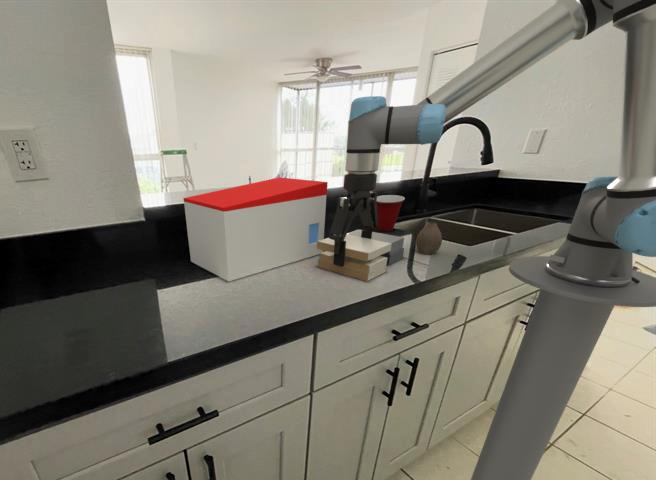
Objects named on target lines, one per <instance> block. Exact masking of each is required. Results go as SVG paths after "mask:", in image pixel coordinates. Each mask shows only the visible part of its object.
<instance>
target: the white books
mask: <svg viewBox="0 0 656 480" xmlns="http://www.w3.org/2000/svg"><path fill="white" fill-rule="evenodd" d="M333 261H334V253H332V252H328V251H323V252H322V253H320V254H319V258H318V261H317V262H318V263H317V267H318V268H321V269H324V270H328V271H330V272H334V273H338V274H341V275H344V276H348V277H351V278H354V279H357V280H361V281H364V282H368V281H370V280H372V279H375V278H376V277H378V276H381V275H382V274H384V273H385V272H386V269H387V266H388V265H387V257H382V256H378V257H375V258H373V259H371V260H369V261H363V260H359V259H355V258H351V257H348V256H345V259H344V266H343V267H341V266H337V265H334V264H333Z"/></svg>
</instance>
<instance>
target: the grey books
mask: <svg viewBox="0 0 656 480" xmlns="http://www.w3.org/2000/svg"><path fill="white" fill-rule="evenodd" d="M363 230H364V229H355V230H353V231H350V232H347V234H348V235H353V236H358V237H361V233H362V231H363ZM371 239H373V240H378V241H383V242H387V243H392V244H391V251H389V252H387V253H384V254H382V255H380V256H382V257H387V265H386V266H390V265H392V264H395V263H396V262H398V261H400V260H403V258H404V254H405V253H404V252H405V248H404V242H405V237H404V236H398V235H393V234H387V233H382V232H377V231H376V232H374V231H372V238H371Z"/></svg>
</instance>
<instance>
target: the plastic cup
mask: <svg viewBox="0 0 656 480" xmlns="http://www.w3.org/2000/svg"><path fill="white" fill-rule="evenodd" d="M405 199H406V198H405V197H404V196H402V195H396V194H386V195H384V194H383V195H377V215H378V227H377V230H376V231H380V232H392V231H393V230H394V228H395V225H396V222H397V220H398V216H399V213H400V211H401V208H402V205H403V202H404V201H405Z"/></svg>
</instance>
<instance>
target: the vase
mask: <svg viewBox="0 0 656 480" xmlns="http://www.w3.org/2000/svg"><path fill="white" fill-rule="evenodd" d="M442 243H443V234H442V233H441V230H440V229H439V227H438V224H437V223H436V222H427V223H426V225H425V226H424V227H423V228H422V229H421V230H420V231H419V232H418V233H417V235H416V238H415V247H416V249H417V251H418V252H419V253H420V254H423V255H433V254H435V253H436V252H438V251H439V250H440V248H441V246H442Z"/></svg>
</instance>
